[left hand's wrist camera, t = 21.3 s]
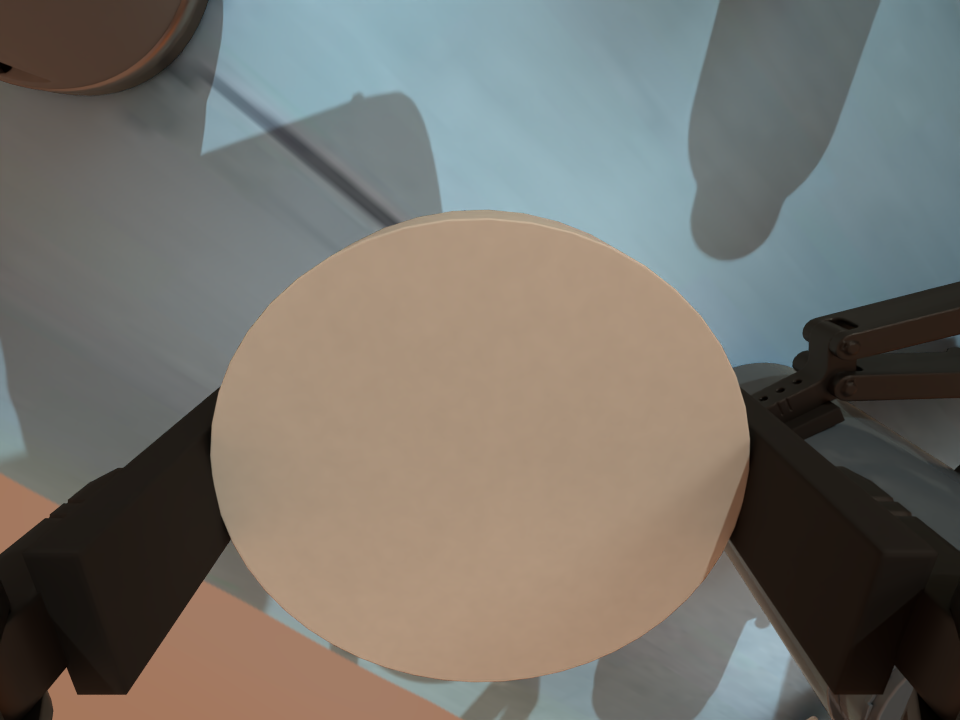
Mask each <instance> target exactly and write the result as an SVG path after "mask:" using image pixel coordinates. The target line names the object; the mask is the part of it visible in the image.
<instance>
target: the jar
mask: <svg viewBox="0 0 960 720" xmlns="http://www.w3.org/2000/svg"><path fill="white" fill-rule="evenodd" d="M733 370H734V372H735V374H736V377H737V380H738V384H739V386H740V387H741V388H742V389H744V390H745V391H746V392H747V393H748V394H749V395H752V394H754V393H756V392H758V391H761V390H762V389H764V388H766V387H768V386H770V385H772V384H774V383H776V382H778V381H780V380H782V379H784V378H786V377H788V376H789V375H791V374H793V373H795V372H796V371H795V370H794V368H791V367H788V366H785V365H780V364H774V363H753V364H746V365H742V366H738V367H734V368H733ZM831 402H832V403H834V404H835V405H837V406H838V407H840V409H841V412H842V414H843V417H844V419H845V421H843V422H841V423H839V424H837V425H834V426H832V427H830V428H828V429H826V430H824V431H822V432H820V433H818V434H816V435H813V436H811V437H809V438H807V439H805V440H804V441H806V442H807V443H808V444H809V445H810V446H812V447H813V448H814V449H815V450H816V451H818V452H819V453H820V454H821V455H822V456H824V457H825V458H826V459H827V460H828V461H830V462H831V463H832V464H833V465H834V466H843V467H845V468H847V469H849V470H851V471H853V472H855V473H857V474H859V475H861V476H863V477H865V478H867V479H869V480H871V481H872V482H874V483H875V484H876V485H877V486H879V487H880V488H881V489H882V490H884V491H885V492H886V493H887V494H889V495H890V496H891V497H892V498H893V501H894V502H899V503H900V504H901V505H902V506H904V507H905V508H906V509H907V510H909V511H910V512H911V515H912V516H916V517H917V518H919V519H920V520H921V521H923V522H924V523H925V524H926V525H928V526H929V527H930V528H931V529H933V530H934V531H935V532H936V533H938V534H939V535H940V536H941V537H943V538H944V539H945V540H946V541H948V542H949V543H950V544H951V545H953V546H954V547H955V548H956V549H958V550H959V551H960V473H958V472H957V471H955V470H954V469H952V468H950V467H949V466H947V465H946V464H944V463H943V462H941V461H939V460H938V459H936V458H935V457H933V456H932V455H930V454H929V453H927V452H925V451H924V450H922V449H921V448H919V447H918V446H916V445H915V444H913V443H911V442H910V441H908V440H907V439H905V438H904V437H902V436H900V435H899V434H897V433H896V432H894V431H893V430H891V429H890V428H888V427H886V426H885V425H883V424H882V423H880V422H879V421H877V420H876V419H874V418H872V417H871V416H869V415H868V414H866V413H865V412H863V411H861V410H860V409H858V408H857V407H855V406H854V405H852V404H851V403H849V402H847V401H841V400H839V399H838V398H837V399H835V400H833V401H831ZM724 551H725V552H726V554H727V555H728V557H729V558H730V560H731V562H732V563H733V565H734V566H735V568H736V569H737V571H738V573H739V574H740V576H741V577H742V579H743V580H744V582H745V584H746V585H747V587H748V588H749V590H750V591H751V593H752V595H753V596H754V598H755V599H756V601H757V602H758V604H759V606H760V607H761V609H762V610H763V612H764V613H765V615H766V617H767V618H768V620H769V621H770V623H771V624H772V626H773V628H774V629H775V631H776V632H777V634H778V635H779V637H780V639H781V640H782V642H783V643H784V645H785V646H786V648H787V650H788V651H789V653H790V654H791V656H792V657H793V659H794V661H795V662H796V664H797V665H798V667H799V668H800V670H801V671H802V673H803V675H804V676H805V678H806V679H807V681H808V682H809V684H810V686H811V687H812V689H813V690H814V692H815V693H816V695H817V697H818V698H819V700H820V701H821V703H822V704H823V706H824V708H825V709H826V711H827V712H828V714H829V715H830V717H831V719H832V720H900V719H901V717H902V714H903V712H904V710H905V707H906V705H907V703H908V700H909V698H910V695H911V693H912V691H913V687H912V685H911V684H910V683H909V682H908V681H907V679H906V678H905V677H904V676H903V675H902V673H901V672H900V671H899V670H898V669H897V667H896V666H894V668H893V671H892V673H891V676H890V678H889V681H888V683H887V686H886V688H885V691H884V693H883V695H834V694H833V692H832V691H831V689H830V688H829V687H828V685H827V684H826V682H825V681H824V679H823V678H822V676H821V675H820V673H819V672H818V670H817V669H816V667H815V666H814V664H813V663H812V661H811V660H810V658H809V657H808V655H807V654H806V652H805V651H804V649H803V648H802V646H801V645H800V643H799V642H798V640H797V639H796V637H795V636H794V635H793V633H792V632H791V630H790V629H789V627H788V626H787V624H786V623H785V621H784V620H783V618H782V617H781V615H780V614H779V612H778V611H777V609H776V608H775V606H774V605H773V603H772V602H771V600H770V599H769V597H768V596H767V594H766V593H765V591H764V590H763V588H762V587H761V585H760V584H759V582H758V581H757V580H756V578H755V577H754V575H753V574H752V572H751V571H750V569H749V568H748V566H747V565H746V563H745V562H744V560H743V559H742V557H741V556H740V554H739V553H738V551H737V550H736V548H735V547H734V545H733V544H732V542H731V541H730V539H729V540H728V542H727V544H726V546H725V548H724Z"/></svg>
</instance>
